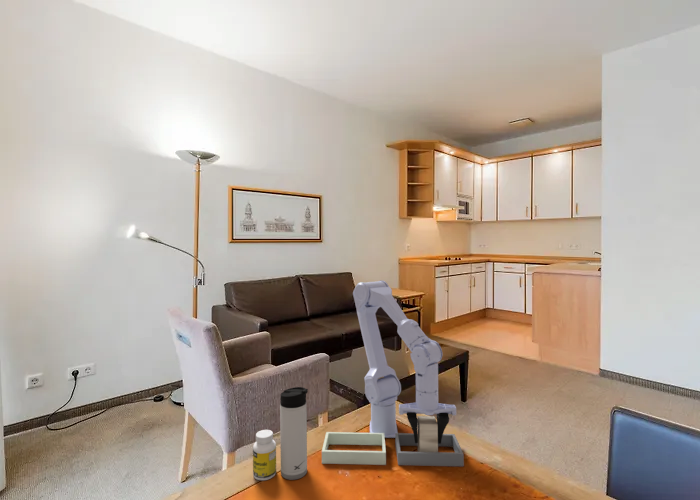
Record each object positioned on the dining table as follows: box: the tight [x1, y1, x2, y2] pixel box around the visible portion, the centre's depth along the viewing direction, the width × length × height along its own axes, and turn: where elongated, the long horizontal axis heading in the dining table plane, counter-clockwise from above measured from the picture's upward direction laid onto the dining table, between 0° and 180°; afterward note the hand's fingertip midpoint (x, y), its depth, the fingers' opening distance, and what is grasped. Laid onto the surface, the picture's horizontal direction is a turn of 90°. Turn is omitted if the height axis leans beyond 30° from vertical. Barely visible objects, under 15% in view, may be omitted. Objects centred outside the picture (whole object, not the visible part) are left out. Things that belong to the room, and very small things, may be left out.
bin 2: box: [395, 432, 465, 467], centre depth 96 cm, size 10×16×3 cm, turn 87°
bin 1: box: [321, 431, 387, 466], centre depth 97 cm, size 10×16×3 cm, turn 87°
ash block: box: [417, 415, 439, 452], centre depth 96 cm, size 4×4×9 cm
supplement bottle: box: [252, 429, 277, 481], centre depth 88 cm, size 5×5×10 cm
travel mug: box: [279, 386, 309, 481], centre depth 89 cm, size 6×7×20 cm
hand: (427, 441), depth 96 cm, fingers open, 5 cm apart
